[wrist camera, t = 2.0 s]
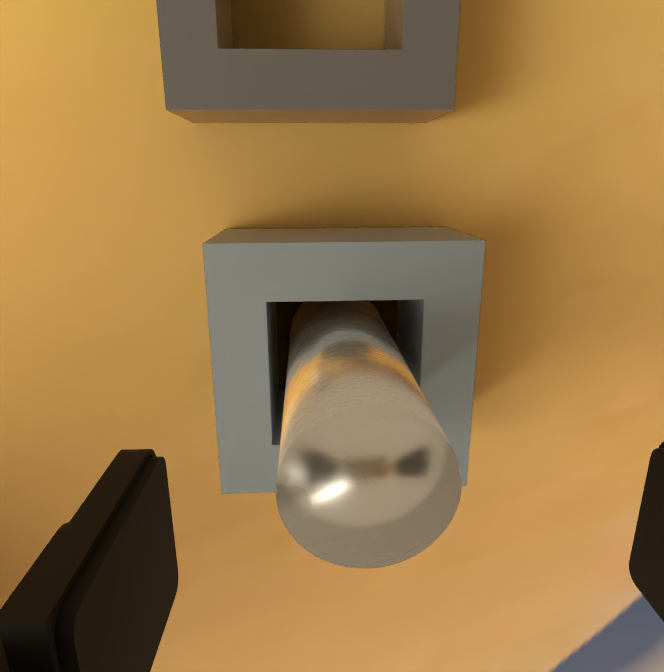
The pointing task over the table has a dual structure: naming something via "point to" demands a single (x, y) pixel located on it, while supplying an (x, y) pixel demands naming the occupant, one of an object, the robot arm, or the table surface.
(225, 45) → the grey square ring
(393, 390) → the steel rod
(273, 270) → the socket block
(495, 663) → the table surface
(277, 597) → the table surface
